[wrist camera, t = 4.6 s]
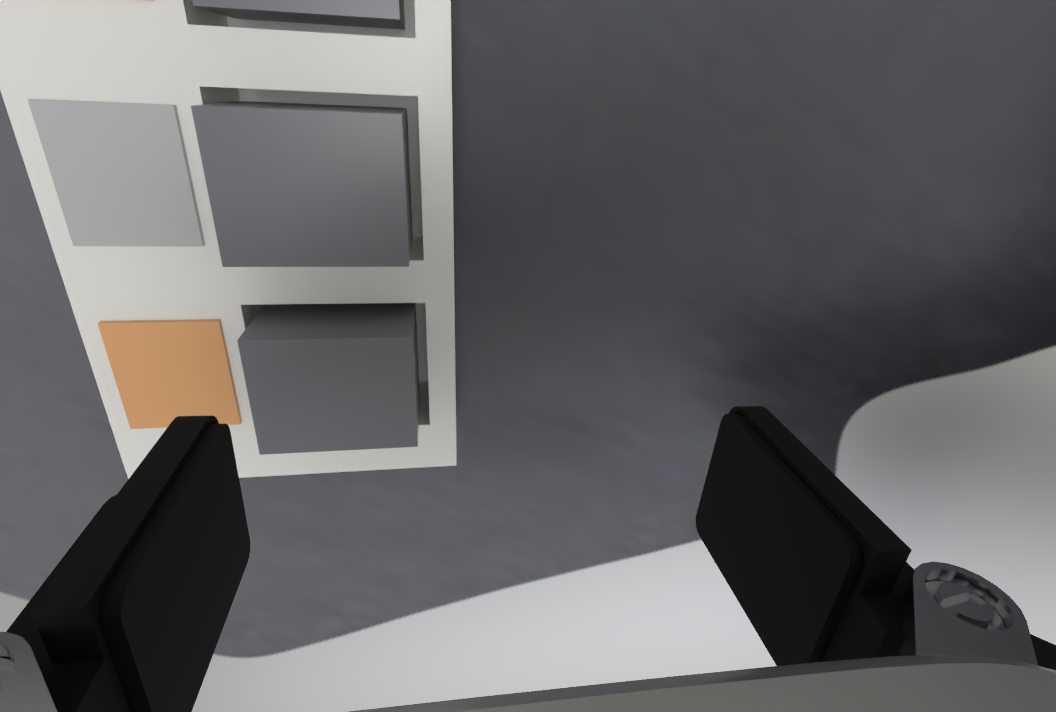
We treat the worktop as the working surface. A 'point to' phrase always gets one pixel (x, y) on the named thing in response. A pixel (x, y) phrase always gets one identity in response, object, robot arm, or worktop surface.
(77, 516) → the worktop surface
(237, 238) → the button
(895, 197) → the worktop surface
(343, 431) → the button
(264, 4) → the button
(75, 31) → the switch box
